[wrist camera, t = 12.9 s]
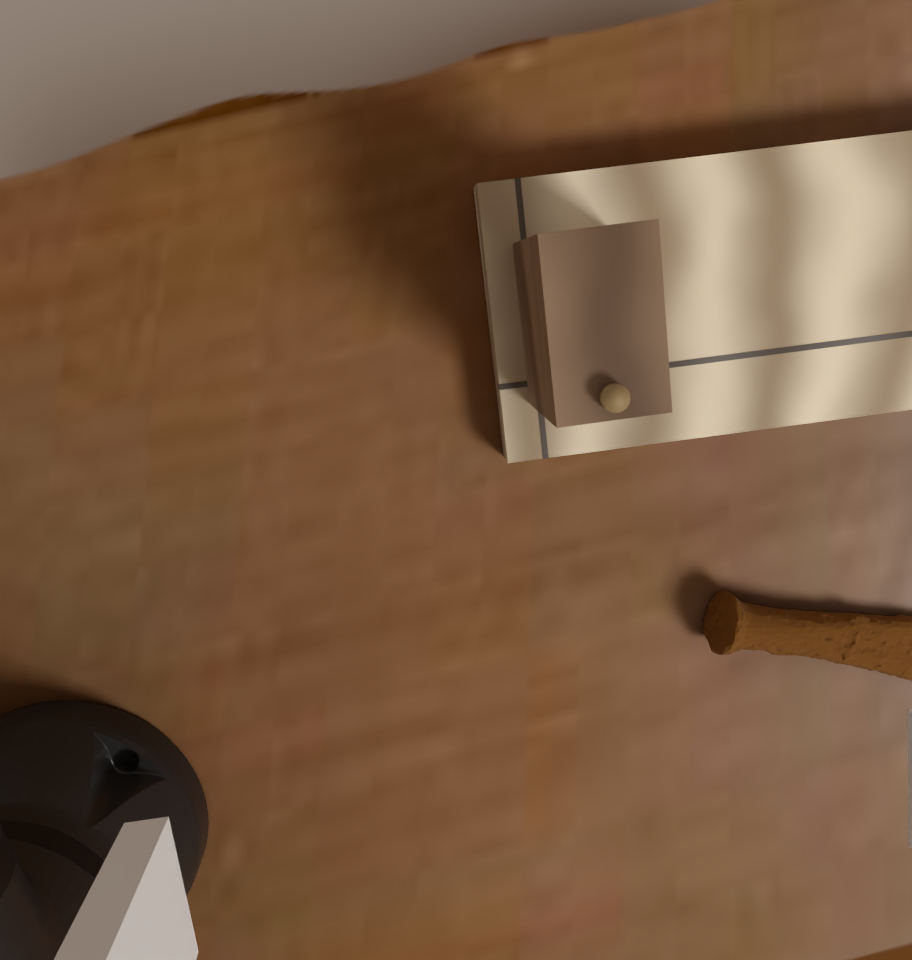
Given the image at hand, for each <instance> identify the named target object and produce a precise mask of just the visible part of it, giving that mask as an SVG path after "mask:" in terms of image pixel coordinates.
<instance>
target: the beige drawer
mask: <svg viewBox="0 0 912 960" xmlns="http://www.w3.org/2000/svg"><path fill="white" fill-rule="evenodd" d="M513 254H514V263H515V273H516V282H517V291H518V301H519V310H520V320H521V329H522V338H523V348H524V357H525V367H526V376H527V385H528V395H529V404H531V405H532V406H533V407H534V408H535V409H536V410H537V411H538V412H539V413H541V414H542V415H543V416H544V417H545V418H546V419H547V420H548V421H550V422H551V423H552V424H553V425H554V426H555V427H556V428H560V427H568V426H575V425H583V424H590V423H598V422H605V421H612V420H620V419H627V418H635V417H642V416H650V415H657V414H665V413H672V400H671V385H670V371H669V356H668V342H667V328H666V313H665V299H664V284H663V270H662V255H661V241H660V227H659V219H652V220H644V221H636V222H628V223H620V224H612V225H604V226H596V227H588V228H581V229H573V230H565V231H557V232H549V233H541V234H536V235H533V236H531V237H528V238H526V239H523V240H521V241H518V242H516V243H513Z"/></svg>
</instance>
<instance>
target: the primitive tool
mask: <svg viewBox="0 0 912 960" xmlns="http://www.w3.org/2000/svg"><path fill="white" fill-rule="evenodd" d="M703 631H704V634H705V637H706V639H707V640H708V642H709V645H710V648H711V650H712V651H713V652H714V653H716V654H720V655H726V654H731V653H733V652H735V651H739V650H741V649H746V650H764V651H767V652H769V653H771V654H773V655H797V656H807V657H812V658H818V659H825V660H828V661H831V662H834V663H838V664H839V663H841V664H846V665H851V666H855V667H860V668H864V669H868V670H869V671H871V670H876V671H879V672H881V673H885V674H888V675H894V676H897V677H900V678H904V679H907V680H912V616H908V615H903V614H899V615H897V616H884V615H869V614H855V613H850V612H848V613H837V612H834V613H828V612H817V611H805V610H796V609H791V610H786V609H779V608H773V607H765V606H760V605H754V604H751V603H743V602H741V601H740V600H738V599H737V598H736V597H735V596H734V595H733V594H732V593H731V592H728V591H725V590H724V591H720V592H718V593H716V594H715V596H714V597H713V598H712V599H711V601H710V603H709V605H708V611H707V613H706V615H705V617H704V626H703Z"/></svg>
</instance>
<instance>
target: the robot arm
mask: <svg viewBox="0 0 912 960" xmlns="http://www.w3.org/2000/svg"><path fill="white" fill-rule="evenodd" d="M207 837H208V810H207V804H206V800H205V796H204V792H203V789H202V786H201V784H200V782H199V779H198V777H197V775H196V773H195V771H194V769H193V768H192V766H191V765H190V763H189V762H188V760H187V759H186V758H185V756H184V755H183V754H182V752H181V751H180V750H179V749H178V748H177V747H176V746H175V745H174V744H173V743H172V742H171V741H170V740H169V739H168V738H167V737H166V736H165V735H163V734H162V733H161V732H160V731H158V730H157V729H155V728H154V727H153V726H151V725H149V724H148V723H146V722H145V721H143V720H141V719H139V718H137V717H135V716H133V715H131V714H129V713H126V712H124V711H121V710H118V709H115V708H112V707H109V706H105V705H101V704H96V703H90V702H81V701H53V702H44V703H39V704H34V705H30V706H26V707H23V708H20V709H16V710H14V711H11V712H9V713H7V714H5V715H3V716H1V717H0V960H196V958H197V955H198V947H197V943H196V938H195V933H194V929H193V924H192V920H191V915H190V911H189V906H188V902H187V897H186V896H187V894H188V893H189V891H190V889H191V887H192V885H193V882H194V880H195V877H196V874H197V871H198V869H199V866H200V863H201V860H202V857H203V854H204V851H205V847H206V843H207ZM908 845H909V846H910V847H911V848H912V709H908Z"/></svg>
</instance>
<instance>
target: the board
mask: <svg viewBox="0 0 912 960" xmlns="http://www.w3.org/2000/svg"><path fill="white" fill-rule="evenodd" d="M474 197H475V206H476V215H477V224H478V233H479V242H480V251H481V260H482V269H483V278H484V287H485V296H486V304H487V313H488V322H489V331H490V340H491V349H492V358H493V367H494V376H495V385H496V394H497V403H498V412H499V421H500V430H501V439H502V448H503V456H504V458H505V459H506V461H507V463H513V462H520V461H528V460H535V459H543V458H550V457H558V456H565V455H573V454H580V453H588V452H596V451H603V450H611V449H618V448H626V447H633V446H641V445H648V444H656V443H663V442H671V441H678V440H686V439H693V438H701V437H709V436H716V435H724V434H731V433H739V432H746V431H754V430H761V429H769V428H776V427H784V426H791V425H799V424H807V423H814V422H822V421H829V420H837V419H844V418H852V417H859V416H867V415H874V414H882V413H889V412H897V411H904V410H912V131H903V132H895V133H887V134H879V135H870V136H862V137H854V138H846V139H837V140H829V141H821V142H813V143H804V144H796V145H788V146H780V147H771V148H763V149H755V150H747V151H738V152H730V153H722V154H714V155H705V156H697V157H689V158H681V159H672V160H664V161H656V162H648V163H639V164H631V165H623V166H615V167H606V168H598V169H590V170H582V171H573V172H565V173H557V174H549V175H540V176H532V177H524V178H515V179H507V180H499V181H491V182H483V183H477V184H476V185H475V186H474ZM652 219H659V227H660V241H661V255H662V270H663V284H664V299H665V313H666V328H667V342H668V356H669V371H670V385H671V400H672V413H665V414H657V415H650V416H642V417H635V418H627V419H620V420H612V421H605V422H598V423H590V424H583V425H575V426H568V427H560V428H556V427H555V426H554V425H553V424H552V423H551V422H550V421H548V420H547V419H546V418H545V417H544V416H543V415H542V414H541V413H539V412H538V411H537V410H536V409H535V408H534V407H533V406H532V405H531V404H529V395H528V385H527V376H526V367H525V357H524V348H523V338H522V329H521V320H520V310H519V301H518V291H517V282H516V273H515V263H514V254H513V243H516V242H518V241H521V240H523V239H526V238H528V237H531V236H533V235H536V234H541V233H549V232H557V231H565V230H573V229H581V228H588V227H596V226H604V225H612V224H620V223H628V222H636V221H644V220H652Z"/></svg>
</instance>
